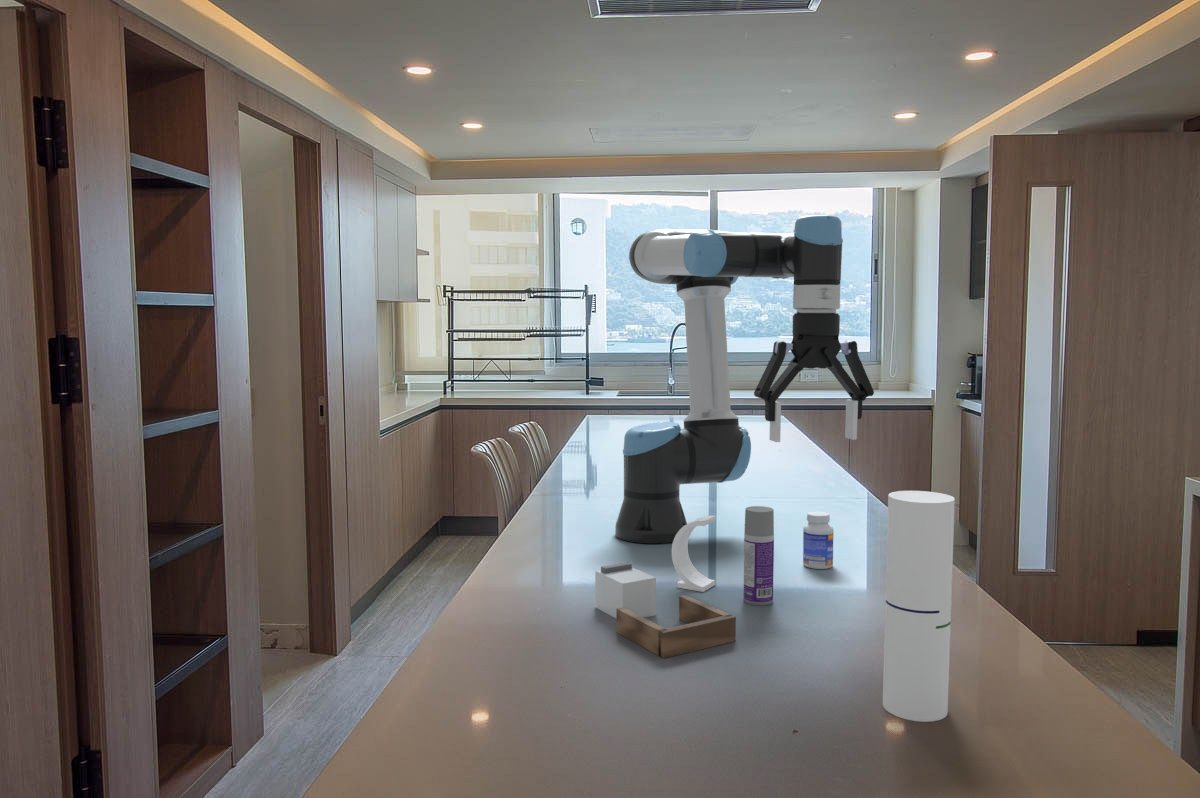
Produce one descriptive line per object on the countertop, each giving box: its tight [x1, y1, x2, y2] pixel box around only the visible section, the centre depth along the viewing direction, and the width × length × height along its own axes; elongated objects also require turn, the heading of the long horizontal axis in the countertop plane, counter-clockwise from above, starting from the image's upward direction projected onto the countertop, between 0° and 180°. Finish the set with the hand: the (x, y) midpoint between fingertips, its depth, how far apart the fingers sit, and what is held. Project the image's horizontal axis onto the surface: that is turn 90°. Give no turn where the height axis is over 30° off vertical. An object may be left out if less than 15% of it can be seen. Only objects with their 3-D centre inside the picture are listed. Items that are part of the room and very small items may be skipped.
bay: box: [615, 594, 737, 659], centre depth 128 cm, size 12×12×4 cm
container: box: [743, 505, 775, 606], centre depth 144 cm, size 5×5×15 cm
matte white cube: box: [594, 561, 657, 619], centre depth 139 cm, size 8×6×7 cm
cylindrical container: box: [882, 490, 956, 723], centre depth 103 cm, size 7×7×25 cm
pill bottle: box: [802, 511, 834, 570], centre depth 164 cm, size 5×5×10 cm
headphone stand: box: [671, 515, 716, 593], centre depth 152 cm, size 5×6×12 cm
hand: (813, 440), depth 149 cm, fingers open, 13 cm apart
